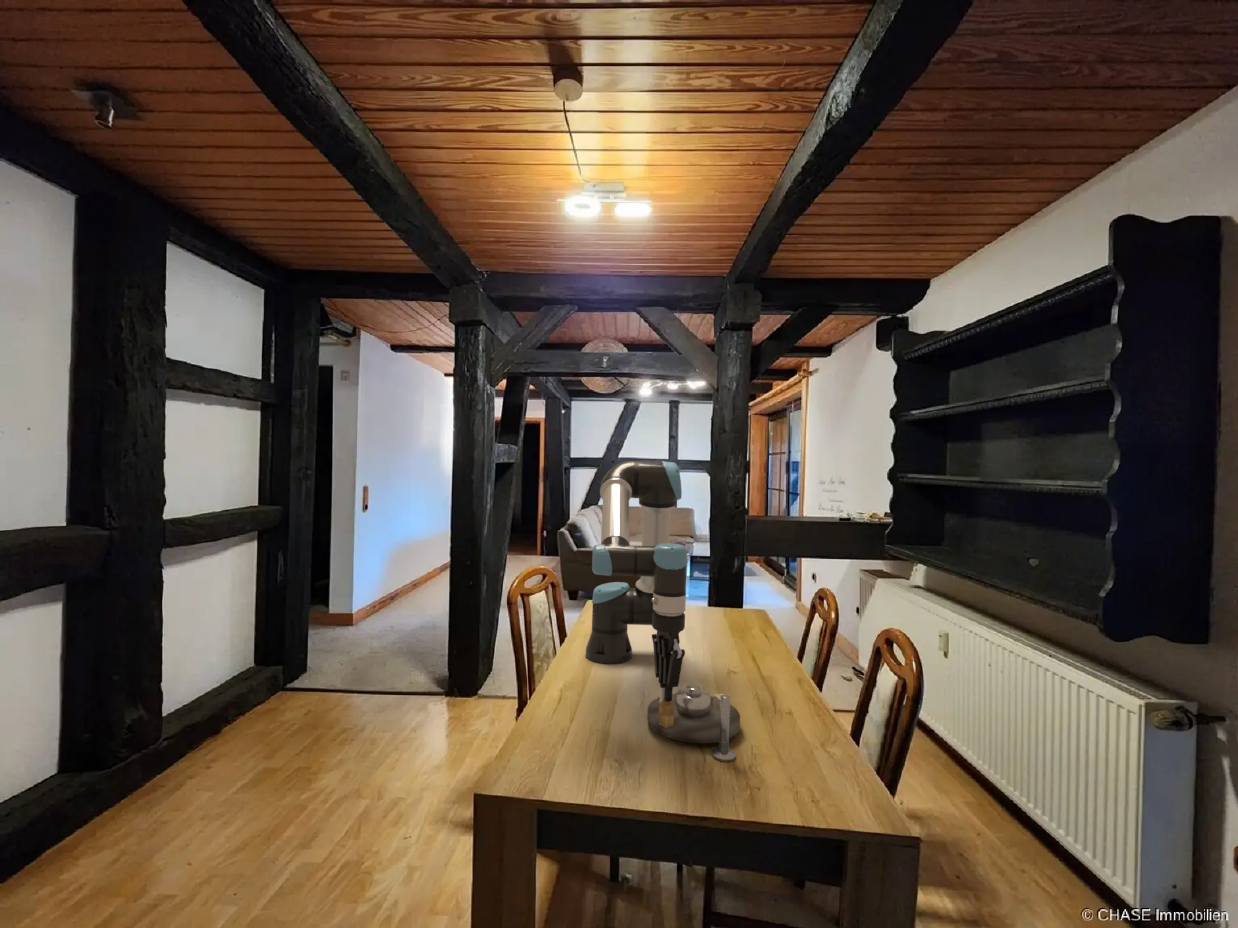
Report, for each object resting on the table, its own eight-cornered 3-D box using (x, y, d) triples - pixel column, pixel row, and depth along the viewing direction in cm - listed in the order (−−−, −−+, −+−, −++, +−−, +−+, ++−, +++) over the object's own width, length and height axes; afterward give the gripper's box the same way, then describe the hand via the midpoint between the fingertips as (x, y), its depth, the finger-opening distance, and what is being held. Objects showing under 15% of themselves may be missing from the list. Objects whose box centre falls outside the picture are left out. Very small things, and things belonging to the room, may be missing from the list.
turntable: (627, 718, 133) (628, 689, 133) (686, 693, 149) (686, 667, 149) (701, 754, 118) (702, 721, 118) (757, 722, 133) (758, 693, 133)
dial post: (706, 750, 122) (708, 692, 122) (726, 747, 124) (728, 689, 124) (719, 763, 117) (721, 702, 117) (739, 759, 119) (741, 699, 119)
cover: (669, 710, 134) (670, 687, 134) (689, 700, 139) (689, 678, 139) (697, 721, 128) (698, 697, 128) (716, 711, 134) (717, 688, 134)
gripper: (643, 605, 133) (639, 703, 133) (666, 620, 121) (662, 728, 121) (671, 603, 136) (668, 699, 136) (696, 618, 124) (692, 723, 124)
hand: (665, 712), depth 129 cm, fingers closed
